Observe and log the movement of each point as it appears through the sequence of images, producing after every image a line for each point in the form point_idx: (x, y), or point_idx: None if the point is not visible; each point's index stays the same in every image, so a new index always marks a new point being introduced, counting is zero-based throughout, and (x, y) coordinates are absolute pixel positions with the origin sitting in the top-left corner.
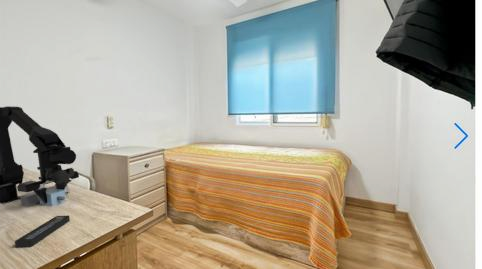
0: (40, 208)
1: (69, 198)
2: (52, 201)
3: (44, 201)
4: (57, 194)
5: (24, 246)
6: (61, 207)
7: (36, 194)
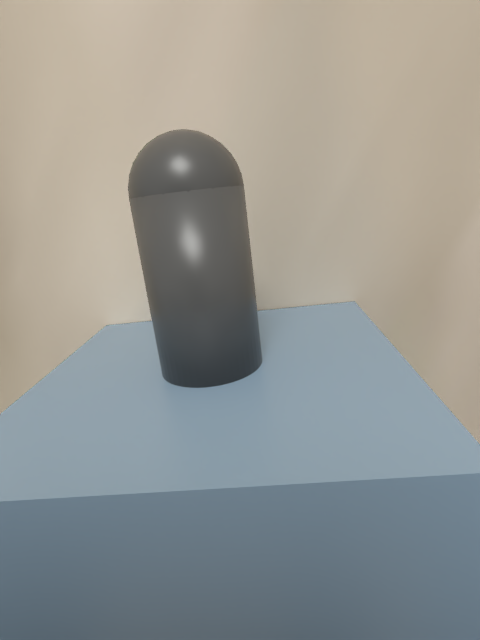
0: (473, 416)
1: None
2: (367, 335)
3: None
4: (216, 425)
5: None
6: (321, 35)
7: None
